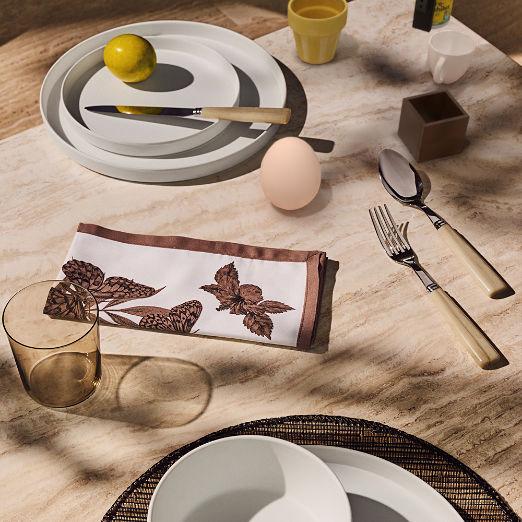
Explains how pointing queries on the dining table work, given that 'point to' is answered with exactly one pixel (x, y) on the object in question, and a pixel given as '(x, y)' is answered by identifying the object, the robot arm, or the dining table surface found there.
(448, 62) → the cup
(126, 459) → the dining table surface
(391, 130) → the dining table surface
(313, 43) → the flower pot
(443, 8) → the supplement bottle
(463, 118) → the brown square planter
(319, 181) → the egg
